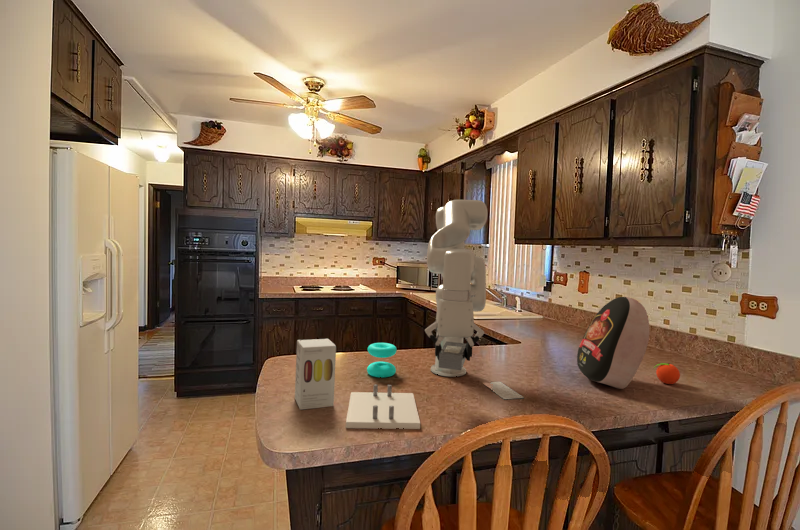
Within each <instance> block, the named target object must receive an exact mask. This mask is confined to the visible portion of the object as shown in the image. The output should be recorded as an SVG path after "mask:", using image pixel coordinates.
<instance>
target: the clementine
mask: <svg viewBox="0 0 800 530" xmlns="http://www.w3.org/2000/svg"><path fill="white" fill-rule="evenodd" d="M657 366H658V367H657ZM655 367H657V368H656V376H657V378H658V380H659V381H660V382H661V383H664V384H667V385H673V384H676V383H677V382H678V381H679V379H680V378H681V373H680V370H679V369H678V368H677V366H675V365H674V364H670V363H663V362H662V363H658V364H656V365H655V366H654V367H653V369H655Z"/></svg>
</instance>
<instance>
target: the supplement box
mask: <svg viewBox="0 0 800 530" xmlns="http://www.w3.org/2000/svg"><path fill="white" fill-rule="evenodd" d="M336 356H337V346H336V344H335V343H334V342H333V341H331V340H330V339H329V338H319V339H317V338H315V339H297V340H296V356H295V357H296V358H295V360H296V361H295V380H294V381H295V383H294V400H295V402H296V404H297V407H298V409H299V410H309V409H319V408H326V407H334V404H335V403H334V402H335V382H336V362H337V361H336V359H337V358H336Z"/></svg>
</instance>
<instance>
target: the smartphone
mask: <svg viewBox="0 0 800 530" xmlns="http://www.w3.org/2000/svg"><path fill="white" fill-rule="evenodd" d="M490 382H491V383H490V384H493V386H492V385H491V386H492V387H493V388H492V387H491V388H492V389H491V390H494V391H492V392H493V393H494V392H495V393H496V395H497V396H498V395H499V396H498V397H499V398H501V399H502V400H504V401H508V400H509V401H510V400H524V399H525V397H524V396H523V395H522V394H520V393H518V392H517V391H515V390H514V389H512V388H510V387H509V386H507V385H506V384H504V383H503V382H502V381H490ZM495 393H494V394H495Z"/></svg>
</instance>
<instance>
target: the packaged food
mask: <svg viewBox="0 0 800 530" xmlns="http://www.w3.org/2000/svg"><path fill="white" fill-rule="evenodd" d="M649 339H650V321H649V316H648V313H647V310H646V308H645V307H644V306H643V304H642V303H641V302H639V301H638V300H637V299H635V298H632V297H629V296H620V297H619V296H618V297H616V298H614V299H611V300H610V301H609V302H607V303H606V304H605V305H603V306H602V307H601V308H600V309H599V310H598V311H597V313H596V314H595V316H594V317H593V319H592V320H591V322H590V324H589V325H588V328H587V329H586V331H585V333H584V335H583V337H582V339H581V342H580V343H579V347H578V349H577V356H576V362H577V367H578V369H579V370H580V372H581V374H583V376H585V378H587V379H588V380H590V381H592V382H597V383H600V384H603V385H607V386H610V387H611V388H616V389H620V390H622V389H625V388H627V387H628V386H629V385H630V384H631V382H632V380H633V378H634V377H635V375H636V373H637V371H638V370H639V368H640V365H641V364H642V361H643V360H644V359H643V358H644V357H645V354H646V351H647V349H648V348H647V347H648V343H649Z"/></svg>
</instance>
